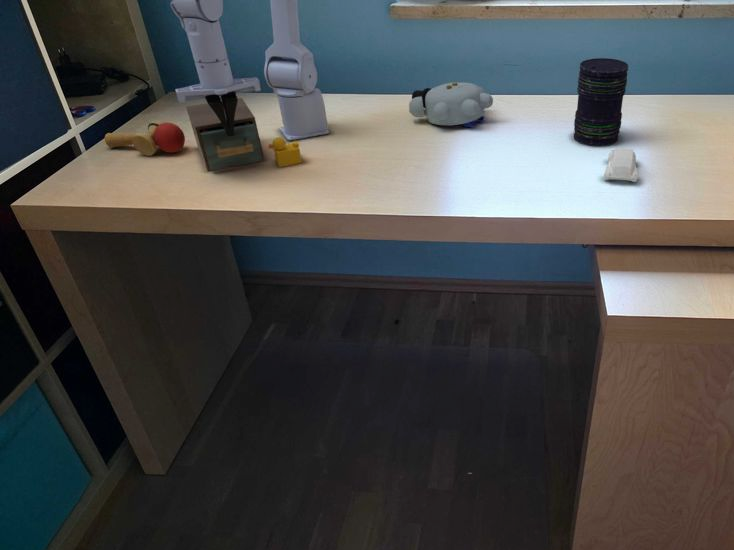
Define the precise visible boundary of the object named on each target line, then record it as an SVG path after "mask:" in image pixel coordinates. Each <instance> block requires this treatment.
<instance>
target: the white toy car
mask: <svg viewBox="0 0 734 550" xmlns="http://www.w3.org/2000/svg"><path fill="white" fill-rule="evenodd" d="M636 161H637V155H636V152H635V151H634V149H631V148H626V147H622V148H621V147H617V148H614V149H611V151H610V152H609V153H608V156H607V165H606V167H605V171H604V175H603V176H604V181H610V180H621V181H627V182H628V181H629V182H632V183H637V182H638V178H639V168H638V167H637V166H636Z"/></svg>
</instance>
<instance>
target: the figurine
mask: <svg viewBox="0 0 734 550" xmlns="http://www.w3.org/2000/svg"><path fill="white" fill-rule="evenodd" d="M493 104H494V98H493V97H492V95H491V94H489V93H486V92H485V89H484V88H482V87H481V86H479V85H477V84H475V83H471V82H461V81H459V82H458V81H453V82H447V83H444V84H440V85H437V86H435V87H433V88H431V87H426V88H424V89H423V90H420V89H416V90H414V91H413V92H412V95H411V100H410V101H409V103H408V109H409V110H408V111H409V113H410V115H411V116H413V117H414V118H424V117H425V114H426V118H427V121H428V122H429V123H430V124H433V125H438V126H457V125H462V126H463V127H465V128H472V127H473V126H474V124H475V123H477V122H484V121H485V116H484V113H485V110H486V109H490V108H491V107H492V106H493Z"/></svg>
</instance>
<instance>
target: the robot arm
mask: <svg viewBox="0 0 734 550" xmlns="http://www.w3.org/2000/svg"><path fill="white" fill-rule="evenodd" d="M269 3H270V13H271V24H272V25H271V26H272V35H273V37H272V38H273V43H272V44H271V45H269V47H268V48H267V49H266V50H265V52H264V55H265V63H264V67H263V68H264V69H263V76H264V79H265V82H266V84H267V85H268V87H269V88H271V89H272V91H273V93H274V94H276V96H277V100H278V106H279V111H280V116H281V120H282V125H283V126H281V127H279V131H280V132H281V133H282V135H283V136H284V138H285V139H286V141H297V140H301V139H305V138H311V137H318V136H323V135H327V134H330V129H329V125H328V117H327V112H326V105H325V100H324V97H323V94H322V92H321V89H320V88H317V87H316V86H317V82H318V72H317V69H316V65H315V61H314V54H313V53H312V52H311V51H310V50H309V49H308V48H307V47H305V45H304V44H302V43H301V39H300V38H301V37H300V36H301V35H300V23H299V9H298V7H299V6H298V0H269ZM170 8H171V10H172V12H173V13H174V15H175V16H176V17H177V18H178V19H179V22H180V24H181V28H182V29H183V30H184V31H185V32H186V35H187V40H188V43H189V46H190V50H191V54H192V58H193V61H194V65H195V68H196V72H197V76H198V79H199V83H197V84H193V85H189V86H185V87H179V88H175V93H176V96H177V99H178V102H179V104H182V103H186V102H188V101H194V100H200V99H205V102H206V103H208V105H209V106H210V107H211V108H212V110H213V111H214V112H215V114H216V115H217V117H218V118H219V120H220V121H221V123H222V125H223V127H224V130H225V133H226V135H227V137H229V136H234V135H235V133H234V118H235V111H236V107H237V102H238V96H237V94H241V93H247V92H253V91H254V92H261V91H262V89H261V84H260V80H259V78H258V77H247V78H233V74H232V69H231V65H230V61H229V56H228V53H227V48H226V44H225V40H224V35H223V32H222V27H221V23H220V17H222V15H223V12H224V0H171V2H170ZM315 87H316V88H315ZM224 111H225V112H224ZM225 114H226V116H225Z"/></svg>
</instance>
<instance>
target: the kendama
mask: <svg viewBox="0 0 734 550" xmlns="http://www.w3.org/2000/svg"><path fill="white" fill-rule="evenodd" d="M185 142H186V136H185V133H184V131H183V130H182V129H181V127H180V126H178V125H177V124H175V123H173V122H161V121H159V120H152V121H151V122H149V123H148V125H147V132H146V133H144V132H137V133H132V132H130V133H129V132H126V133H125V132H123V133H121V132H119V133H117V132H115V133H114V132H107V133H106V134H105V136H104V143H105V144H106V145H107V147H109V148H112V149H113V148H117V147H123V146H131V145H133V147H134V148H135V150H136V151H138V153H140V154H141V155H143V156H147V157H150V156H153V155H154V154H155V153H156V152H157V151H158V148H159V149H161V150H162V151H163V152H166V153H177V152H179V151H181V150H183V148H184V146H185Z"/></svg>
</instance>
